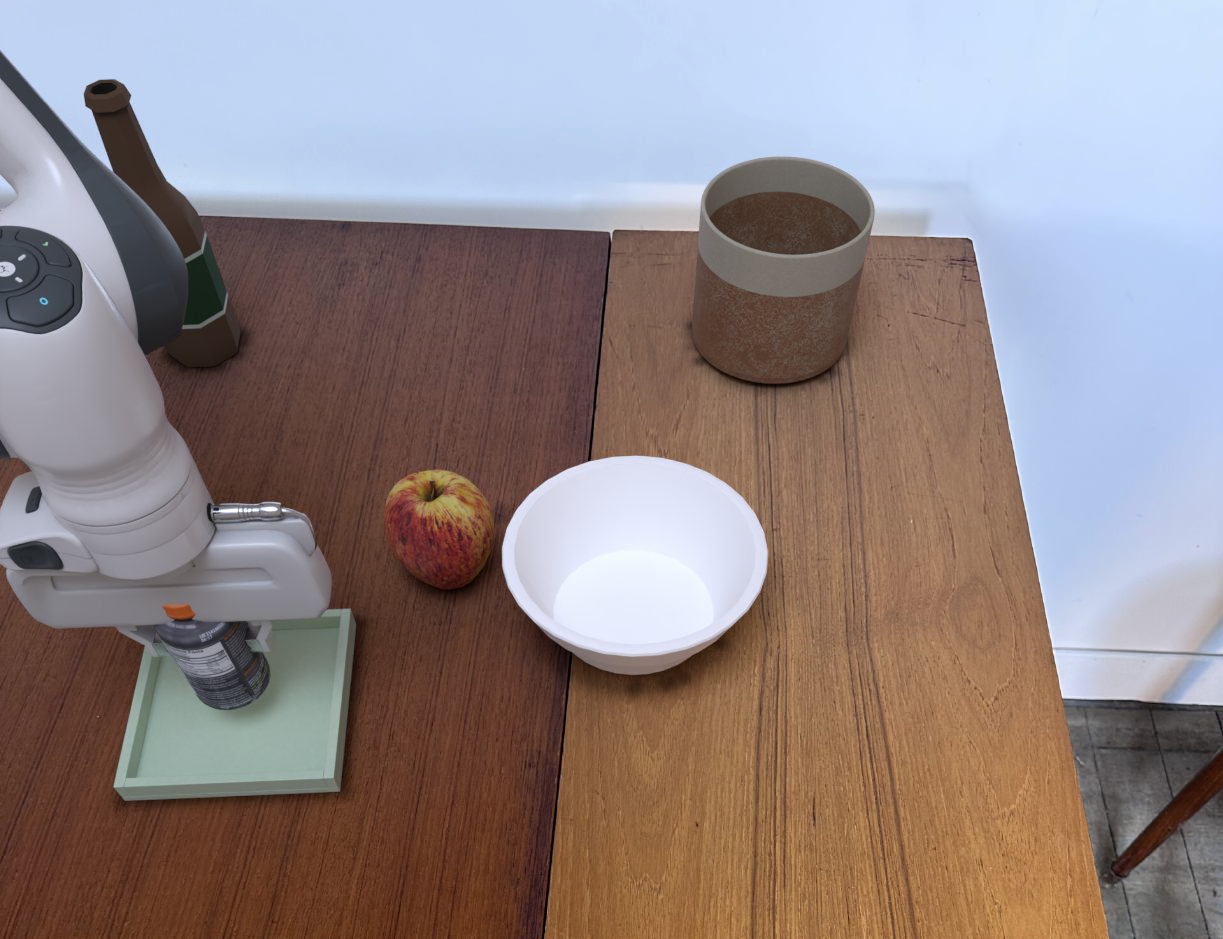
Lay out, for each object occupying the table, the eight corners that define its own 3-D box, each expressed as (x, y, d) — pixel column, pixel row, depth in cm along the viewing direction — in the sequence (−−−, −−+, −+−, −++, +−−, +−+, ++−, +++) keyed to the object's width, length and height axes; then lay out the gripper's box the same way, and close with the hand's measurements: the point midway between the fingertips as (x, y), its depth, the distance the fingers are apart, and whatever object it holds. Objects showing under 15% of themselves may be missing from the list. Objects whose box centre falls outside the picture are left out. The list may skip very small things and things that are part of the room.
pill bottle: (234, 639, 81) (181, 537, 71) (288, 674, 80) (241, 574, 70) (179, 689, 79) (116, 591, 69) (233, 725, 77) (176, 630, 67)
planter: (659, 335, 105) (665, 200, 93) (765, 272, 110) (783, 136, 98) (771, 412, 99) (792, 279, 87) (877, 341, 104) (911, 206, 92)
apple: (379, 592, 88) (352, 506, 79) (425, 521, 92) (405, 432, 83) (473, 622, 87) (457, 537, 78) (516, 548, 91) (505, 460, 82)
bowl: (782, 698, 83) (798, 633, 75) (526, 734, 81) (518, 671, 74) (726, 512, 93) (735, 440, 85) (497, 541, 91) (487, 470, 84)
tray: (124, 801, 78) (112, 787, 76) (161, 632, 86) (151, 616, 84) (340, 791, 78) (333, 777, 77) (356, 624, 86) (350, 608, 85)
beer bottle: (220, 377, 102) (118, 118, 81) (153, 361, 103) (35, 102, 82) (257, 330, 106) (168, 71, 85) (192, 315, 107) (88, 56, 86)
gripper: (308, 467, 65) (356, 609, 77) (-12, 479, 65) (87, 620, 77) (298, 539, 62) (350, 675, 74) (-38, 553, 62) (69, 687, 74)
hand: (214, 647), depth 76 cm, fingers closed on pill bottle, 6 cm apart
